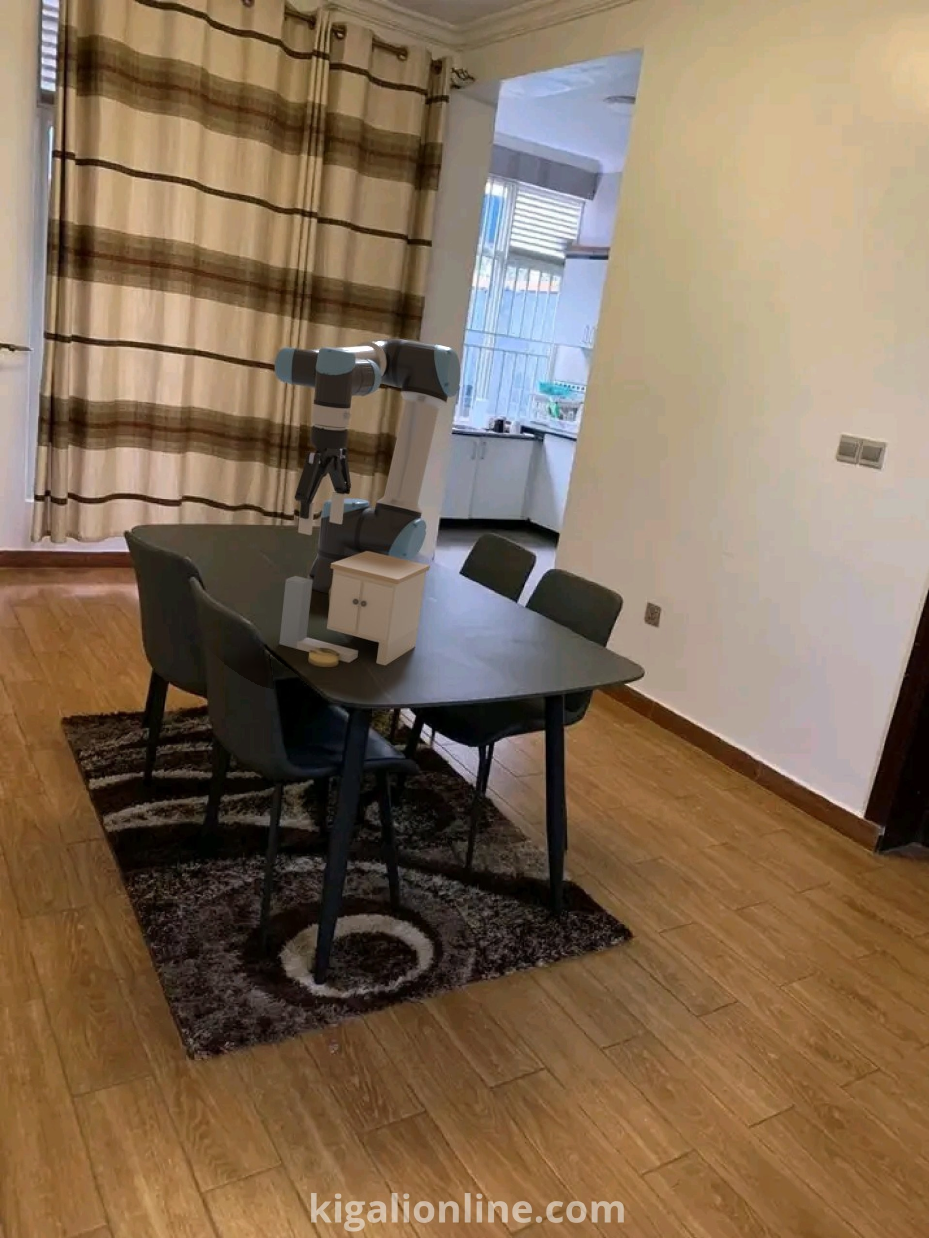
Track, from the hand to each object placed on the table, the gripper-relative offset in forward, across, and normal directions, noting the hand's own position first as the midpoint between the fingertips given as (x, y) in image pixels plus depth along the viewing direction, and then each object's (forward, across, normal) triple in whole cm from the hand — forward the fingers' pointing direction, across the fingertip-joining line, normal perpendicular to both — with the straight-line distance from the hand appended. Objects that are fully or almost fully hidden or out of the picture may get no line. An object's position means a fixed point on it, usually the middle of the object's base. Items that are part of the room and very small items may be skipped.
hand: (320, 528), depth 196 cm
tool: (+23, -9, -7) cm, 26 cm away
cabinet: (+24, 0, -14) cm, 28 cm away
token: (+23, -14, -11) cm, 29 cm away
